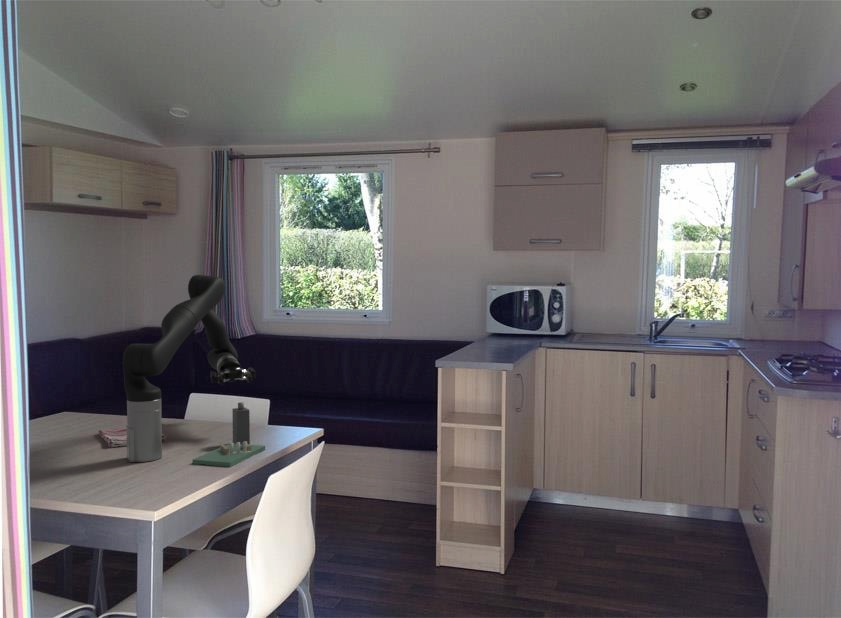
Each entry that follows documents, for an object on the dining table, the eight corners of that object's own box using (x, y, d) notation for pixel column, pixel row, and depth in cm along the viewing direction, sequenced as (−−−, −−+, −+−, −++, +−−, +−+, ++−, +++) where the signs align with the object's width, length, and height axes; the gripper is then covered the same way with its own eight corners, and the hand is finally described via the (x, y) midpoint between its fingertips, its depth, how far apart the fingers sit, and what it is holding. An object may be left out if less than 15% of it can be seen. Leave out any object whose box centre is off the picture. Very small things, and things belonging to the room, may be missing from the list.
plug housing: (236, 446, 216) (236, 404, 215) (232, 443, 220) (232, 402, 219) (249, 444, 218) (249, 403, 217) (245, 441, 222) (244, 401, 221)
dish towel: (109, 450, 213) (109, 439, 212) (97, 435, 232) (97, 425, 232) (167, 443, 222) (166, 432, 222) (151, 429, 241) (150, 419, 241)
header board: (230, 466, 192) (230, 451, 192) (192, 463, 195) (192, 448, 195) (265, 449, 211) (265, 436, 211) (230, 447, 214) (229, 433, 214)
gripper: (207, 359, 237) (212, 372, 222) (249, 355, 242) (257, 367, 228) (208, 380, 238) (214, 394, 224) (250, 376, 244) (258, 389, 229)
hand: (236, 381), depth 226 cm, fingers open, 8 cm apart
